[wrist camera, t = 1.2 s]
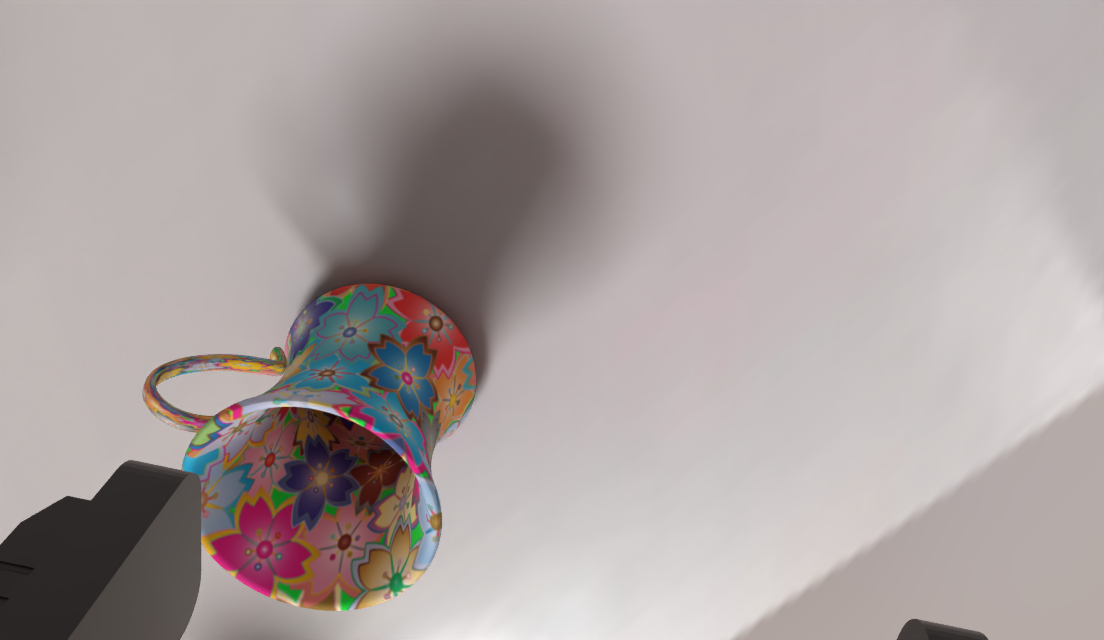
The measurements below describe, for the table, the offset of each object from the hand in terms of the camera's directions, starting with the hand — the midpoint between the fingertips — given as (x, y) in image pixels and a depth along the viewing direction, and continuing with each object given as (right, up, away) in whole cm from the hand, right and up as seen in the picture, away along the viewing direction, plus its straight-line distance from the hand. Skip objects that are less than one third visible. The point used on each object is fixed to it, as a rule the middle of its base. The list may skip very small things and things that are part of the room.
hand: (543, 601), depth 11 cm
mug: (-8, +2, +32) cm, 33 cm away
